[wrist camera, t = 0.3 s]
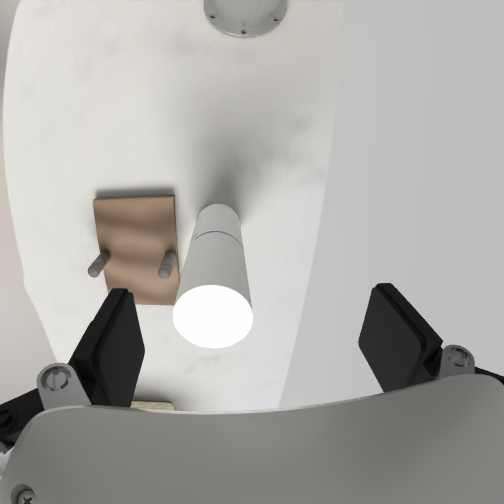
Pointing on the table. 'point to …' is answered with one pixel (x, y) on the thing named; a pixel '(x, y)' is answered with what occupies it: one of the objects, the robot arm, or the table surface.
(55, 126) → the table surface
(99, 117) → the table surface
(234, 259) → the cylindrical container
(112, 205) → the board
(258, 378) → the table surface
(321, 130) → the table surface
